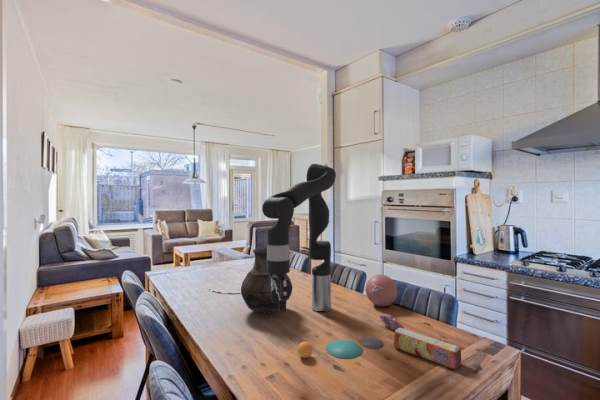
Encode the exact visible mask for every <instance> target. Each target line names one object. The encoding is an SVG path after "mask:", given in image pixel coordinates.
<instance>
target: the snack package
mask: <svg viewBox="0 0 600 400" xmlns="http://www.w3.org/2000/svg"><path fill="white" fill-rule="evenodd" d="M393 347H394V348H395V349H397V350H399V351H403V352H406V353H409V354H412V355H414V356H418V357H419V358H423V359H426V360H429V361H431V362H434V363H436V364H439V365H442V366H444V367H447V368H449V369H452V370H454V369H456V370H458V368H459V367H460V366H461V363H462V352H461V351H462V350H461V348H460V347H459V346H458V345H455V344H452V343H447V342H445V341H442V340H438V339H435V338H434V337H429V336H426V335H424V334H420V333H418V332H414V331H411V330H409V329H406V328H404V329H403V328H398V329H395V330H394V333H393Z"/></svg>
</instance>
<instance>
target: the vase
mask: <svg viewBox="0 0 600 400" xmlns="http://www.w3.org/2000/svg"><path fill="white" fill-rule="evenodd" d="M252 252H253V255H254V263H253V268H251V270H249V272H248V273H247V274H246V275H245V276H246V277H245V278H244V280H243V282H242V285H241V294H240V295H241V297H242V299H243V301H244V304H245V305H246V306H247V308H249V310H250V311H251V312H254V313H258V314H273V313H275V312H277V311H279V302H278V303H276V304H273V303H272V292H271V289H270V288H269V283H270V274H269V273H268V272H267V247H261V248H254V249H252ZM285 279H286V280H288V281H289V298H290V297H291V296H292V293H293V284H292V281H291V278H290V276H289V275H288V273H286V274H285ZM283 296H284V293H283ZM278 299H279V297H278ZM288 300H289V299H287V300H286V302H288Z"/></svg>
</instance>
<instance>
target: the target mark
mask: <svg viewBox="0 0 600 400" xmlns="http://www.w3.org/2000/svg"><path fill="white" fill-rule="evenodd" d="M325 351H326V353H327V354H329V355H331V356H332V357H334V358H338V359H343V360H344V359H347V360H348V359H354V358H357V357H359V356H362V354H363V348H362V346H361V345H360V344H359V343H357V342H355V341H351V340H348V339H347V340H346V339H336V340H332V341H330V342H328V343H327V344H326V346H325Z"/></svg>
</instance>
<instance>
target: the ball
mask: <svg viewBox="0 0 600 400" xmlns="http://www.w3.org/2000/svg"><path fill="white" fill-rule="evenodd" d="M297 353H298V355H299V356H300V357H301V358H303V359H307V358H309V357H311V355H312V354H313V346H312V344H311V343H310V342H308V341H302V342H300V343H299V345H297Z"/></svg>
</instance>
